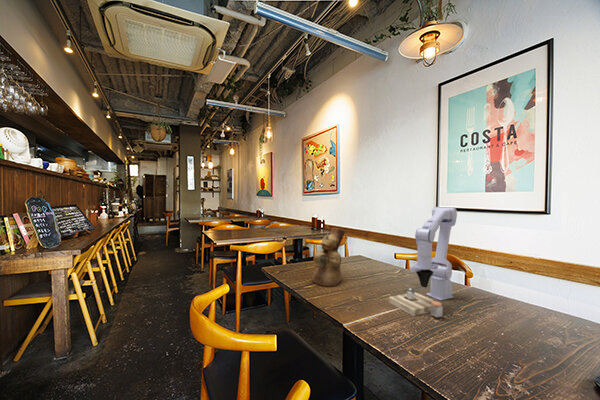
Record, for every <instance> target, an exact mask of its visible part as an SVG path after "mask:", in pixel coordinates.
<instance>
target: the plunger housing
mask: <svg viewBox="0 0 600 400" xmlns="http://www.w3.org/2000/svg"><path fill="white" fill-rule="evenodd" d="M429 314H430V315H431V316H433V317H435V318H440V317H443V305H442V306H441V307H436V306H434V305H432V304H431V311H430V313H429Z"/></svg>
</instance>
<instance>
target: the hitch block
mask: <svg viewBox="0 0 600 400" xmlns="http://www.w3.org/2000/svg"><path fill="white" fill-rule="evenodd" d="M432 301H435V300H433V299H431V298H429V297H427V296H424V295H422V294H420V293H418V292H416V291H415V301H409V300H407V293H403V294H398V295H392V296H389V297H388V303H389V304H391V305H393V306H394V307H396V308H398V309H399V310H402V311H403V312H406V313H407V314H409V315H411V316H413V317H417V316H420V315H424V314H425V315H426V314H430V311H431V304H432Z"/></svg>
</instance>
